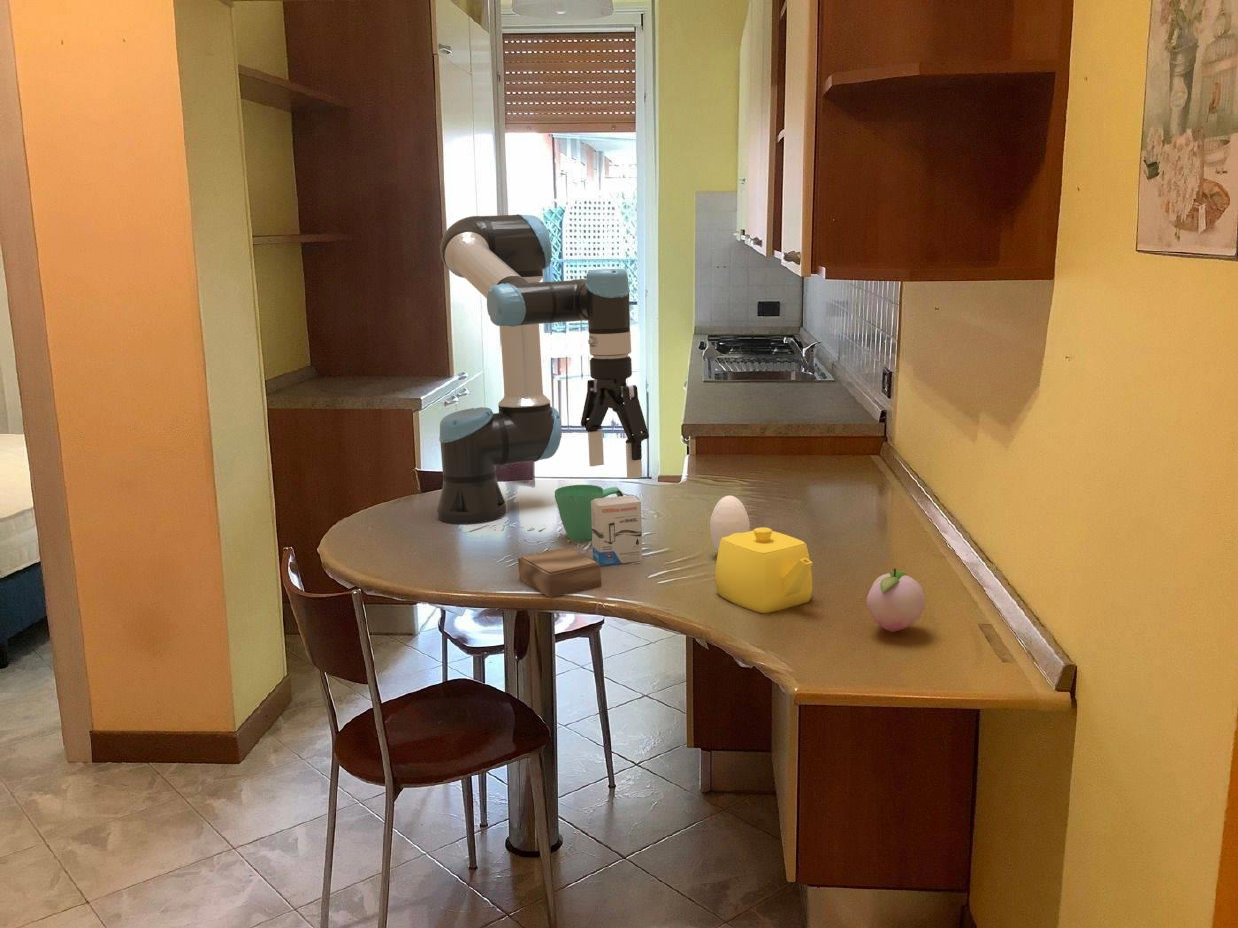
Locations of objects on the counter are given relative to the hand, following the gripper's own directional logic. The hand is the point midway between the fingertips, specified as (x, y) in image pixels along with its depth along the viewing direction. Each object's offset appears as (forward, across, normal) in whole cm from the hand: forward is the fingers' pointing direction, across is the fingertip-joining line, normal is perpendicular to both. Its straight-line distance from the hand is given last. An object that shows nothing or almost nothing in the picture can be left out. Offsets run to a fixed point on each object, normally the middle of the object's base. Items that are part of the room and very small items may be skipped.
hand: (615, 471), depth 192 cm
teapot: (+18, +33, +9) cm, 38 cm away
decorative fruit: (+18, +56, +15) cm, 60 cm away
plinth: (+17, +5, -15) cm, 23 cm away
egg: (+17, +11, +18) cm, 27 cm away
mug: (+17, -17, +4) cm, 25 cm away
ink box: (+17, 0, 0) cm, 17 cm away
